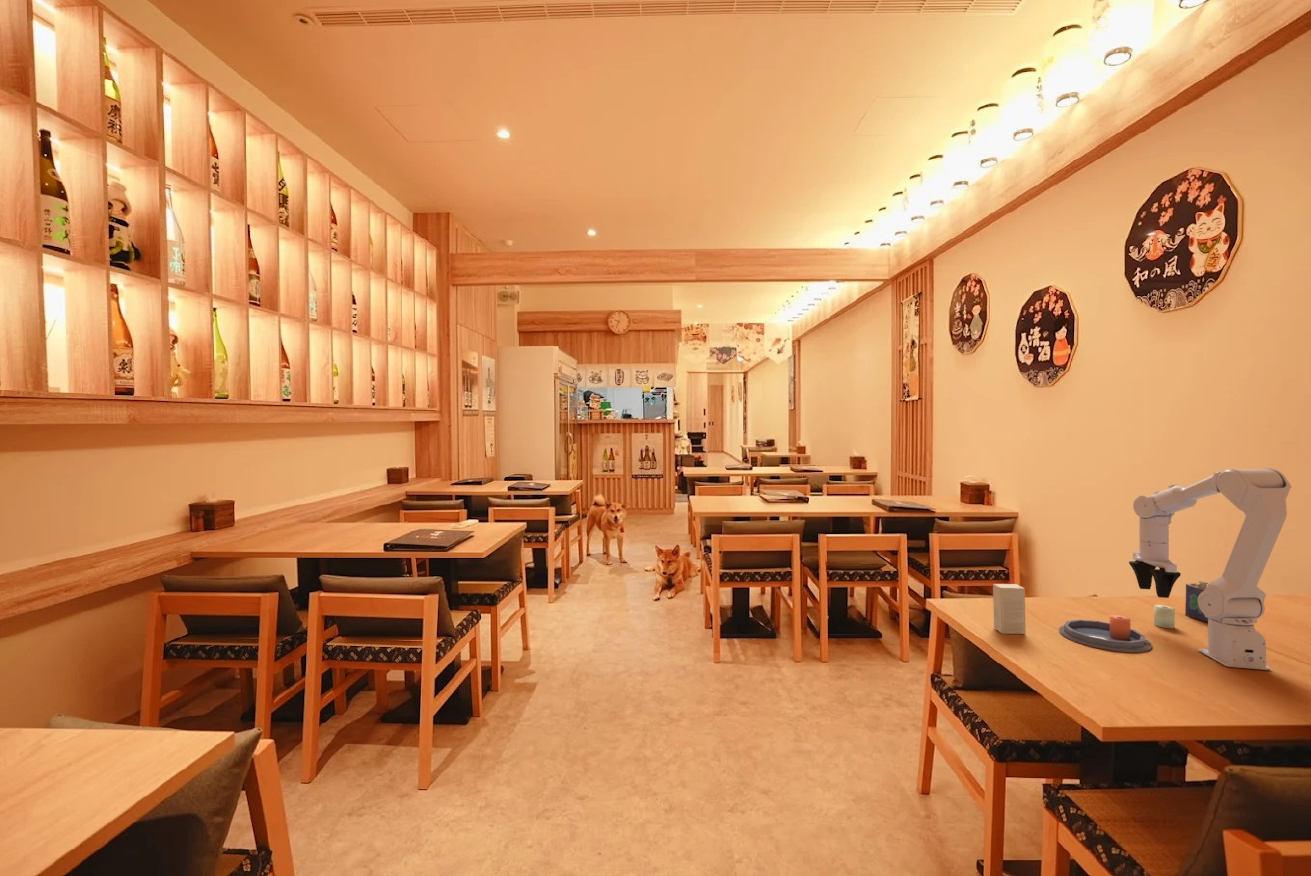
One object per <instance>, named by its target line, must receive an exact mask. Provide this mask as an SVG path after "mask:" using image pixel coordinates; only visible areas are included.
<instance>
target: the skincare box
mask: <svg viewBox="0 0 1311 876" xmlns="http://www.w3.org/2000/svg"><path fill="white" fill-rule="evenodd" d="M992 592H993V593H992V596H993V598H992V599H993V600H992V601H993V629H994V628H995V629H994V630H996V631H997V630H998V631H997V632H999V633H1000V634H1001V635H1002V634H1003V635H1004V634H1005V635H1006V634H1007V635H1008V634H1010V635H1011V634H1012V635H1025V634H1026V632H1027V630H1026V589H1025V587H1023V586H1020V585H1019V584H1017V583H993V584H992Z"/></svg>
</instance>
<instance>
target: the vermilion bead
mask: <svg viewBox="0 0 1311 876" xmlns="http://www.w3.org/2000/svg"><path fill="white" fill-rule="evenodd" d="M1109 623H1110V637H1111V638H1114V639H1118V640H1124V641H1129V640H1130V629H1131V618H1129V617H1128V616H1123V615H1118V614H1110V615H1109Z"/></svg>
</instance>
